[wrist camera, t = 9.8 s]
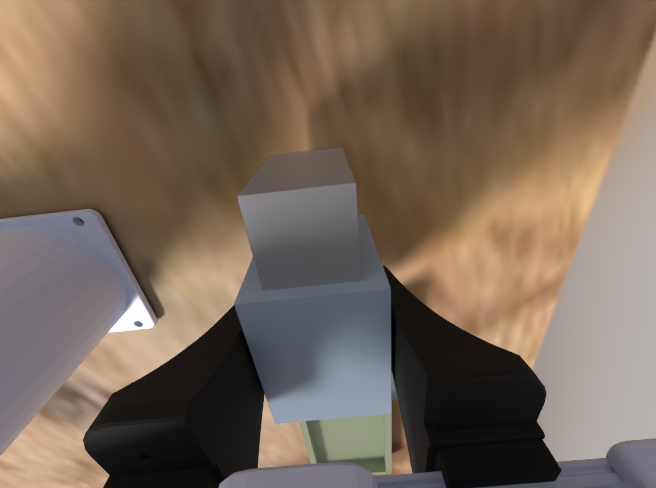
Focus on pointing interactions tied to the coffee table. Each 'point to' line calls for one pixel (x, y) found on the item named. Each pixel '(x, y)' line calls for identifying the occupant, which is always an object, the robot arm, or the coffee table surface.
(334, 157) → the stepped two-tone block
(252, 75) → the coffee table surface
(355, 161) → the coffee table surface
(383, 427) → the tray
